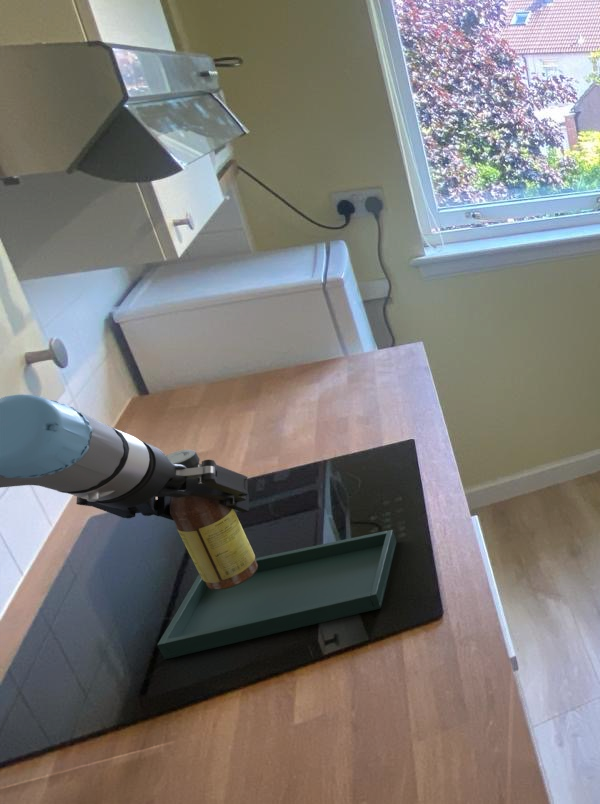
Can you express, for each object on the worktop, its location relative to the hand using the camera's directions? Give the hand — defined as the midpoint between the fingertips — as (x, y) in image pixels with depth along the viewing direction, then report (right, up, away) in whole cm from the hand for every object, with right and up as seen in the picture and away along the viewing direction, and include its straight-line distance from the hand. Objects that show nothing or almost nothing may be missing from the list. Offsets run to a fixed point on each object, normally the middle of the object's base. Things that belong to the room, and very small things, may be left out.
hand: (216, 508), depth 102 cm
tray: (+7, -14, +5) cm, 16 cm away
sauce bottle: (+1, -10, +1) cm, 10 cm away
